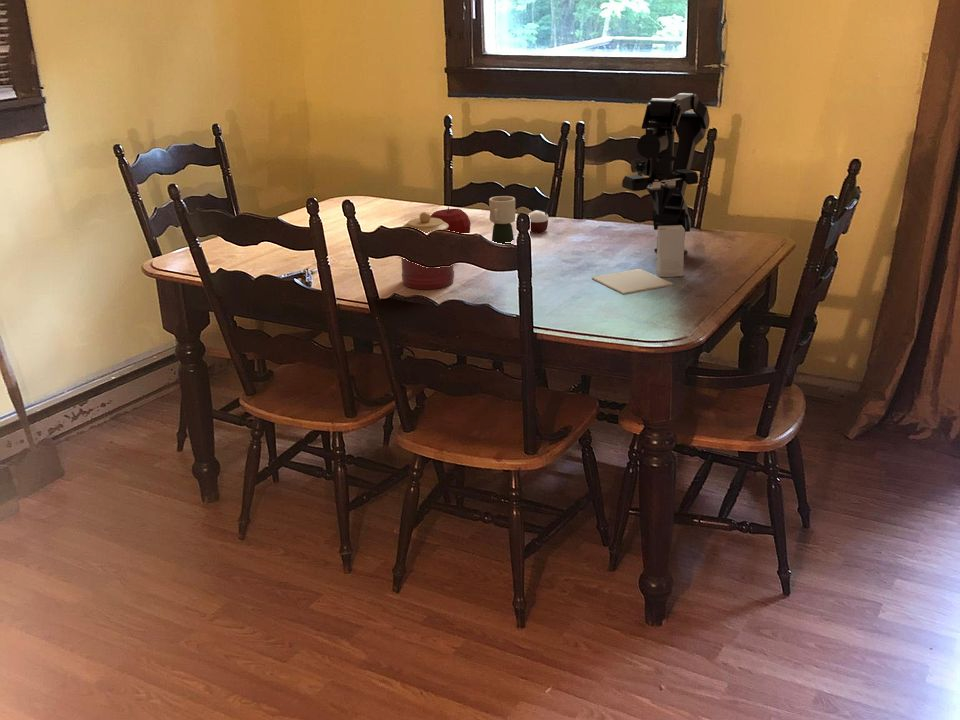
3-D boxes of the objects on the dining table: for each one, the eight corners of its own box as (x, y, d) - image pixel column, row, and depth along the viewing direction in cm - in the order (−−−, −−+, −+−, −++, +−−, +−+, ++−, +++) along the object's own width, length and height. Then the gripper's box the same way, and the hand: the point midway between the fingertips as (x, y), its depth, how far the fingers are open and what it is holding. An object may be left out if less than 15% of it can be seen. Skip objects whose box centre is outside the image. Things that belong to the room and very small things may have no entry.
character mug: (498, 238, 267) (497, 193, 262) (522, 240, 264) (521, 195, 259) (483, 248, 257) (482, 202, 252) (507, 251, 255) (506, 204, 250)
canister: (465, 281, 231) (462, 211, 224) (426, 294, 223) (422, 221, 216) (430, 271, 240) (426, 203, 233) (391, 283, 231) (386, 213, 225)
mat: (639, 270, 235) (639, 268, 235) (672, 284, 223) (672, 283, 223) (591, 278, 230) (591, 277, 230) (623, 294, 218) (623, 292, 218)
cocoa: (520, 234, 272) (517, 193, 267) (529, 228, 277) (526, 188, 272) (550, 236, 268) (547, 194, 263) (558, 230, 273) (556, 189, 268)
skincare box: (680, 271, 233) (682, 224, 228) (683, 277, 229) (686, 228, 224) (655, 272, 233) (657, 224, 228) (658, 277, 229) (660, 229, 224)
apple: (454, 246, 260) (452, 199, 255) (480, 255, 252) (479, 206, 247) (419, 255, 253) (416, 207, 248) (444, 264, 245) (442, 214, 240)
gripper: (676, 143, 239) (673, 203, 245) (612, 149, 232) (610, 211, 238) (701, 149, 229) (697, 212, 235) (634, 156, 223) (632, 221, 229)
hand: (658, 214), depth 235 cm, fingers closed
